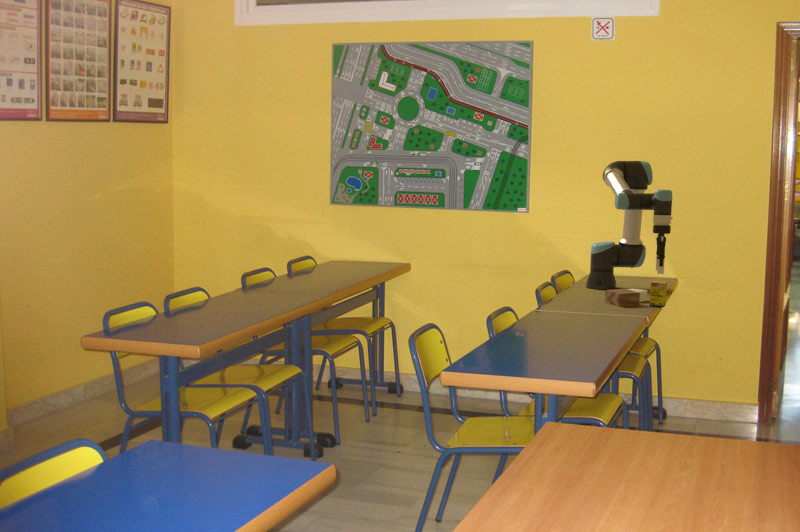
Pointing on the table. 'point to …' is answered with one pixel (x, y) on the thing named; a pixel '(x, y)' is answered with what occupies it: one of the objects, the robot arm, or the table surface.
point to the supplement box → (658, 294)
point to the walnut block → (622, 297)
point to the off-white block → (641, 294)
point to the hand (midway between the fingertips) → (659, 272)
